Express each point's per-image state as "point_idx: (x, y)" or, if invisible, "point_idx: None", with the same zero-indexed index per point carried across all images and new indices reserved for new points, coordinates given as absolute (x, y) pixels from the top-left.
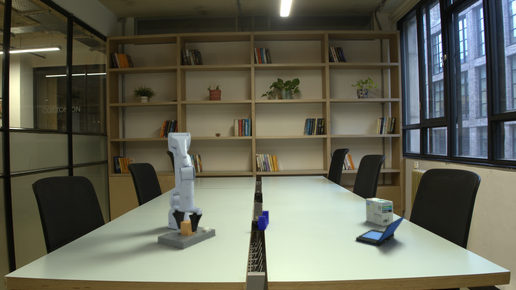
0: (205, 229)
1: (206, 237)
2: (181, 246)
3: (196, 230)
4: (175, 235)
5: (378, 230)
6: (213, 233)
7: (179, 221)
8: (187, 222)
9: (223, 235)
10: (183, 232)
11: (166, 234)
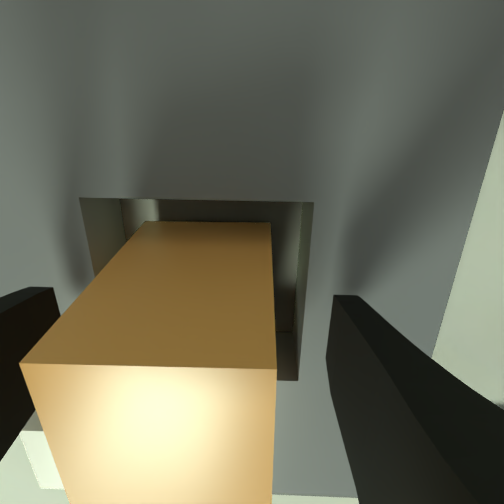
0: (29, 431)
1: None
2: None
3: None
4: (270, 132)
5: None
6: None
7: (377, 412)
8: (107, 412)
9: (20, 452)
10: (213, 256)
11: (463, 95)
